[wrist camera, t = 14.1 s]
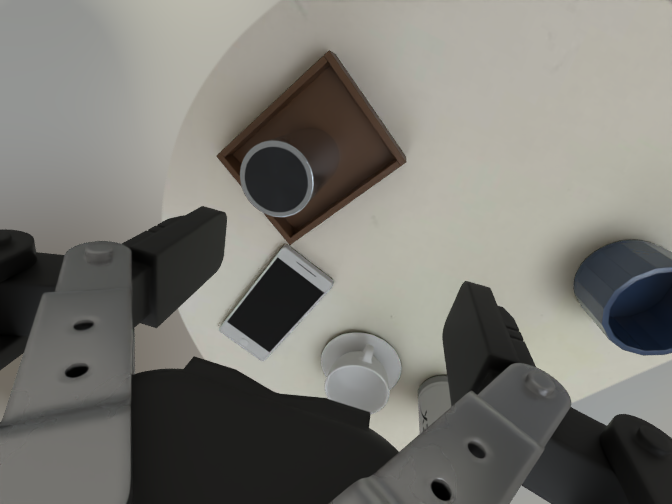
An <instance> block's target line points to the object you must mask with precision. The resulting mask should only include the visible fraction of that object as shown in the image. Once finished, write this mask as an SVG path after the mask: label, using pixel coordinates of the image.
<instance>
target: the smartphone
mask: <svg viewBox="0 0 672 504" xmlns="http://www.w3.org/2000/svg"><path fill="white" fill-rule="evenodd" d="M333 284H334V281H333V280H332V279H331V278H330V277H328V276H327V275H326V274H325V273H323V272H322V271H321V270H319V269H318V268H317V267H315V266H314V265H313V264H312V263H310V262H309V261H308V260H306V259H305V258H304V257H302V256H301V255H300V254H299V253H297V252H296V251H295V250H293V249H292V248H291V247H290V246H288V245H285V246H283V247H282V248H281V250H280V251H279V252H278V254H277V255H276V256H275V257H274V259H273V260H272V261H271V263H270V264H269V265H268V266H267V268H266V269H265V270H264V271H263V273H262V274H261V275H260V277H259V278H258V279H257V280H256V282H255V283H254V284H253V286H252V287H251V288H250V289H249V291H248V292H247V293H246V295H245V296H244V297H243V298H242V300H241V301H240V302H239V304H238V305H237V306H236V307H235V309H234V310H233V311H232V313H231V314H230V315H229V316H228V318H227V319H226V320H225V322H224V323H223V324H222V325H221V327H220V328H219V331H220V332H221V333H223V334H224V335H225V336H227V337H228V338H230V339H231V340H232V341H234V342H235V343H237V344H238V345H239V346H241V347H242V348H244V349H245V350H246V351H248V352H249V353H251V354H252V355H253V356H255V357H256V358H258V359H259V360H260V361H264V360H266V359H267V358H268V356H269V355H270V354H271V353H272V352H273V351H274V350H275V349H276V348H277V347H278V346H279V345H280V343H281V342H282V341H283V340H284V339H285V338H286V337H287V336H288V335H289V334H290V333H291V332H292V330H293V329H294V328H295V327H296V326H297V325H298V324H299V323H300V322H301V321H302V320H303V319H304V317H305V316H306V315H307V314H308V313H309V312H310V311H311V310H312V309H313V308H314V307H315V306H316V305H317V303H318V302H319V301H320V300H321V299H322V298H323V297H324V296H325V295H326V294H327V293H328V292H329V290H330V289H331V288H332V286H333Z"/></svg>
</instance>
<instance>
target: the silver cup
mask: <svg viewBox="0 0 672 504" xmlns="http://www.w3.org/2000/svg"><path fill="white" fill-rule="evenodd" d="M339 159H340V156H339V150H338V147H337V144H336V142H335V141H334V139H333V138H332V137H331V136H330V135H329V134H328V133H327V132H325V131H323V130H321V129H318V128H311V127H310V128H304V129H301V130H298V131H295V132H292V133H289V134H285V135H282V136H279V137H276V138H273V139H270V140H267V141H264V142H261V143H259V144H257V145H255V146H254V147H253V148H251V149H250V150H249V151H248V153H247V154H246V155H245V157H244V159H243V161H242V164H241V169H240V181H241V186H242V189H243V191H244V194H245V196H246V197H247V199H248V200H249V201H250V203H251V204H252V205H253V206H254V207H255V208H257V209H258V210H259V211H261V212H263V213H265V214H267V215H270V216H274V217H288V216H291V215H294V214H296V213H298V212H300V211H301V210H302V209H303V208H304V207H305V206H306V205H307V204H308V203H309V202H310V201H311V200H312V199H313V197H314V196H315V195H316V194H317V193H318V192H319V191H320V190H321V188H322V187H323V186H324V185H325V184H326V183H327V182H328V181H329V179H330V178H331V177H332V176H333V175H334V174H335V172H336V170H337V168H338V165H339Z"/></svg>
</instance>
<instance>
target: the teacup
mask: <svg viewBox="0 0 672 504" xmlns="http://www.w3.org/2000/svg"><path fill="white" fill-rule="evenodd" d="M321 365H322V369H323V372H324V374H325V376H326V377H327V378H326V380H325V392H326V395H327V397H328V399H330V400H333V401H336V402H339V403H343V404H346V405H349V406H352V407H355V408H358V409H362V410H365V411H368V412H371V413H370V414H373V413H376V412H378V411H379V410H381V409H382V408H383V407H384V406H385V405H386V403H387V402H388V399H389V390H390V389H392V388H393V387H394V386H395V385H396V383H397V382H398V380H399V378H400V375H401V362H400V359H399V356H398V355H397V353H396V351H395V350H394V349H393V348H392V347H391V346H390V345H389V344H388V343H387V342H385V341H384V340H382V339H380V338H378V337H376V336H374V335H371V334H367V333H359V332H354V333H347V334H343V335H340V336H338V337H336V338H334V339H333V340H331V341H330V342H329V343H328V344H327V345H326V347H325V348H324V350H323V353H322V356H321Z"/></svg>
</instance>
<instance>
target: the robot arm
mask: <svg viewBox="0 0 672 504" xmlns="http://www.w3.org/2000/svg"><path fill="white" fill-rule="evenodd" d="M226 225H227V216H226V213H225V212H222V211H218V210H215V209H211V208H208V207H204V206H202V207H200V208H198V209H196V210H194V211H193V212H191V213H189V214H187V215H185V216H184V215H183V216H179V217H174V218H170V219H167V220H165V221H163V222H162V223H160V224H158V225H157V226H154V227H152V228H151V229H149V230H148V231H145V232H143V233H141V234H139V235H137V236H135V237H133V238H132V239H130V240H128V241H126V242H124V243H122V244H119V243H115V242H108V241H95V242H88V243H83V244H79V245H77V246H74V247H73V248H71V249H69V250H68V251H67V252H66V254H65V255H57V254H47V253H37V252H36V249H35V243H34V238H33V237H32V236H31V235H30V234H28V233H25V232H22V231H17V230H0V370H1V369H3V368H4V367H5V366H7V365H8V364H9V363H11V362H12V361H13V360H14V359H16V358H17V357H19V356H20V355H21V354H23V353H24V354H23V357H22V360H21V363H20V366H19V370H18V373H17V376H16V379H15V382H14V385H13V388H12V391H11V394H10V398H9V401H8V404H7V407H6V410H5V413H4V416H3V419H2V421H1V422H0V504H510V502H511V500H512V499H513V497H514V496H515V494H516V493H517V491H518V490H519V488H520V486H521V485H522V486H524V487H525V488H527V489H528V490H530V491H532V492H533V493H535V494H536V495H538V496H540V497H541V498H543V499H545V500H546V501H548V502H549V503H551V504H672V438H670V437H669V436H668V435H667V434H665V433H664V432H663V431H661V430H660V429H658V428H656V427H655V426H654V425H652V424H650V423H648V422H646V421H644V420H642V419H640V418H637V417H635V416H631V415H627V414H619V415H616V416H615V417H614V418H613V419H612V421H611V422H610V423H609V424H608V425H607V426H606V425H604V424H602V423H600V422H598V421H596V420H594V419H592V418H590V417H588V416H587V415H585V414H582V413H581V412H578V411H577V410H575V409H573V408H572V407H571V399H570V396H569V394H568V393H567V391H566V390H565V388H564V387H563V386H562V385H561V384H560V383H559V382H558V381H557V380H556V379H554V378H553V377H552V376H550V375H549V374H548V373H546V372H544V371H542V370H541V369H539V368H536V366H535V364H534V362H533V359H532V357H531V355H530V353H529V351H528V348H527V346H526V344H525V342H523V337H522V335H521V333H520V332H519V329H518V326H517V324H516V322H515V320H514V318H513V317H512V316H511V315H510V314H509V313H508V312H507V311H506V310H505V309H504V308H503V307H500V306H497V303H496V301H495V298H494V296H493V293H492V291H491V289H490V288H489V287H485V286H482V285H478V284H475V283H471V282H468V281H465V282H464V283H463V284H462V286H461V288H460V290H459V292H458V294H457V297H456V299H455V301H454V303H453V306H452V308H451V310H450V313H449V315H448V317H447V319H446V322H445V325H444V329H443V347H444V354H445V362H446V370H447V377H448V385H449V393H450V400H451V408H450V409H448V410H447V411H446V412H445V413H444V414H443V415H441V416H440V417H439V418H438V419H437V420H436V421H435V422H433V423H432V424H431V425H430V426H429V427H428V428H426V429H425V430H424V431H423V432H422V433H421V434H420V435H418V436H417V437H416V438H415V439H414V440H413V441H411V442H410V443H409V444H408V445H407V446H406V447H405V448H403V449H402V450H401V451H400V452H398V451H397V449H396V448H395V447H394V446H392V445H391V444H390V443H389V442H388V441H387V440H386V439H384V438H383V437H382V436H380V435H379V434H378V433H376V432H375V431H373V430H371V429H370V428H369V422H370V413H371V412H368V411H365V410H362V409H358V408H355V407H352V406H349V405H346V404H343V403H339V402H336V401H333V400H330V399H327V398H319V397H308V396H298V395H287V394H279V393H275V392H273V391H271V390H270V389H268V388H266V387H264V386H263V385H261V384H259V383H258V382H256V381H254V380H253V379H251V378H249V377H247V376H246V375H244V374H242V373H241V372H239V371H237V370H235V369H232V368H229V367H226V366H223V365H219V364H216V363H213V362H210V361H207V360H204V359H200V358H197V357H193V358H192V359H191V361H190V362H189V363H188V364H187V365H186V367H185V368H184V369H158V370H152V371H145V372H141V373H137V374H135V338H134V337H135V335H134V327H136V326H137V325H138V324H139V323H142V324H145V325H148V326H151V327H155V328H157V327H158V326H159V325H161V323H163V322H164V321H165V320H166V319H167V318H168V317H169V316H170V315H171V314H172V313H173V312H174V311H175V310H176V309H178V308H179V307H180V306H181V305H182V304H183V303H184V302H185V301H186V300H187V299H188V298H189V297H190V296H191V295H192V294H193V293H195V292H196V291H197V290H198V289H199V288H200V287H201V286H202V285H203V284H204V283H205V282H206V281H207V280H208V279H209V278H210V277H212V276H213V275H214V274H215V273H216V272H217V271H218V269H219V268H220V266H221V263H222V261H223V257H224V248H225V236H226Z"/></svg>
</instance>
